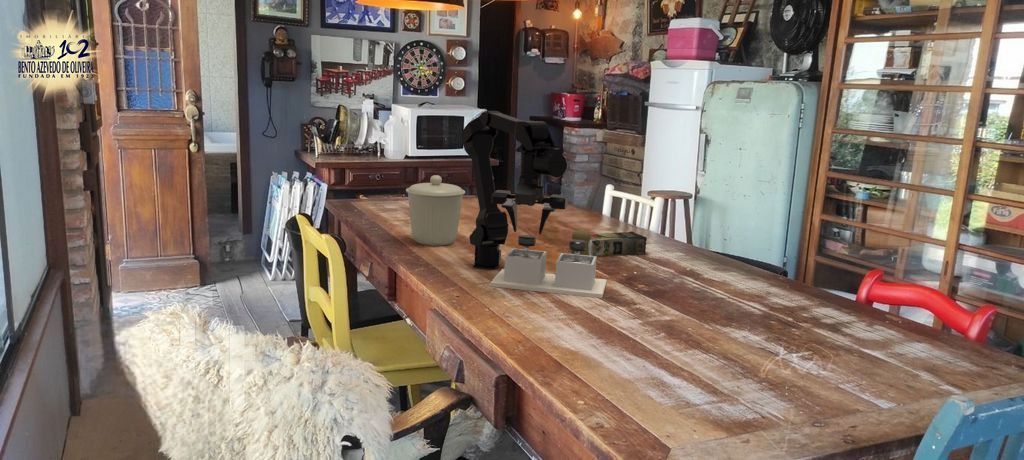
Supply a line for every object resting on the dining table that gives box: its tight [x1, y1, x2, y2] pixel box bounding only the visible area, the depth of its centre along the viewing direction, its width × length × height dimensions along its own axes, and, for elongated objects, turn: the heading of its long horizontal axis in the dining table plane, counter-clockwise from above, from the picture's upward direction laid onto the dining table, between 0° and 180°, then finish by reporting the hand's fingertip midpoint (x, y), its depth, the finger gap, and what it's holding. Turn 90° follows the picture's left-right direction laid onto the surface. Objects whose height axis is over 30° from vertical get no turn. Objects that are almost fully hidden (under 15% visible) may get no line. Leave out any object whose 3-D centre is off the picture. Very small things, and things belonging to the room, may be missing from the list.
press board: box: [490, 248, 608, 299], centre depth 186 cm, size 28×14×8 cm, turn 79°
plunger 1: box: [513, 234, 539, 259], centre depth 186 cm, size 7×7×6 cm
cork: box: [570, 229, 591, 256], centre depth 203 cm, size 6×6×11 cm
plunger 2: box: [563, 239, 590, 264], centre depth 183 cm, size 7×7×6 cm
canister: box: [405, 174, 466, 247], centre depth 225 cm, size 18×18×21 cm
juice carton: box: [588, 231, 648, 258], centre depth 225 cm, size 20×10×6 cm, turn 111°
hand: (527, 232), depth 185 cm, fingers open, 6 cm apart
